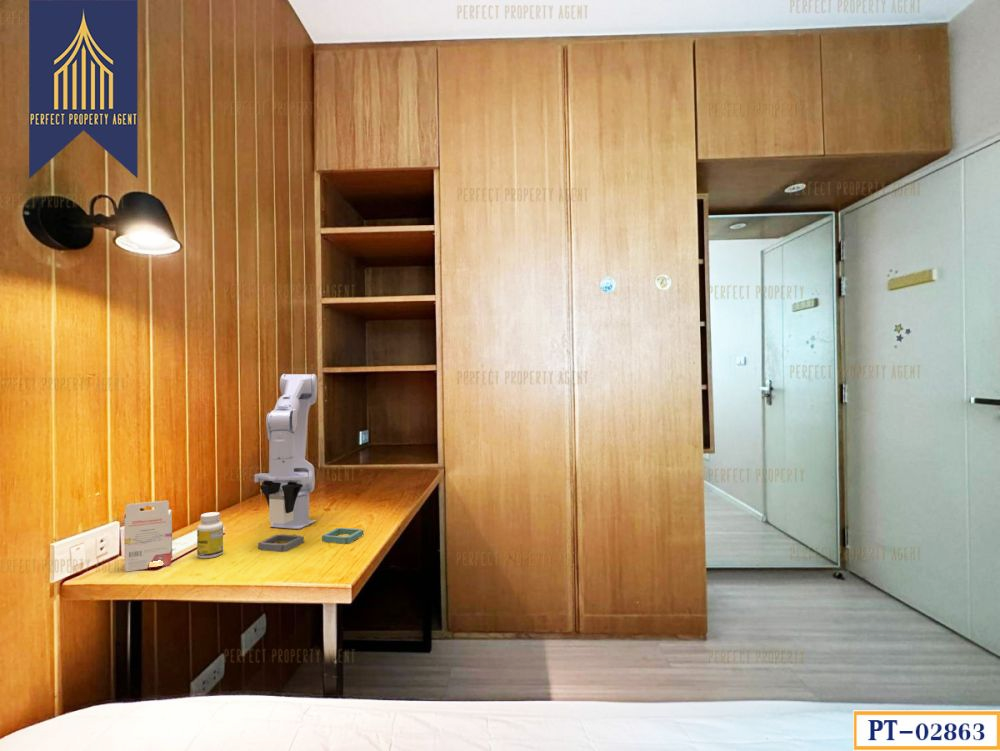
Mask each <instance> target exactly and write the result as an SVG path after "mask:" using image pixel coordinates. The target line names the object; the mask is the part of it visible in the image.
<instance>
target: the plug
mask: <svg viewBox="0 0 1000 751" xmlns="http://www.w3.org/2000/svg"><path fill="white" fill-rule="evenodd" d="M268 509H269V513H268V516H269V517H268V518H269V519H268V521H269V524H273V523H277V524H284V523H287V522H289V521H291V520H293V511H292V512H290V513H286V511H285V497H284V493H283V492H282V491H279V492H276V493H273V494H270V495H269V506H268Z"/></svg>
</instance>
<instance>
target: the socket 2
mask: <svg viewBox="0 0 1000 751" xmlns="http://www.w3.org/2000/svg"><path fill="white" fill-rule="evenodd" d="M364 532H365V530H364V529H361V528H352V527H351V528H350V527H336V528H334V529H332V530H330V531H327V532H326V533H324V534H322V536H321V541H322V542H324V543H329V542H336V543H335V544H342V543H346V544H352V543H353V542H355V541H356V539H357V538H358V539H360V538H361V536H362V535H363V536H364ZM338 534H339V535H338ZM343 534H349V535H347V536H345V535H344V536H341V535H343ZM336 535H337V536H336ZM363 536H362V537H363ZM359 537H360V538H359ZM358 539H357V540H358ZM354 540H355V541H354ZM352 541H353V542H352ZM351 542H352V543H351Z"/></svg>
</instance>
